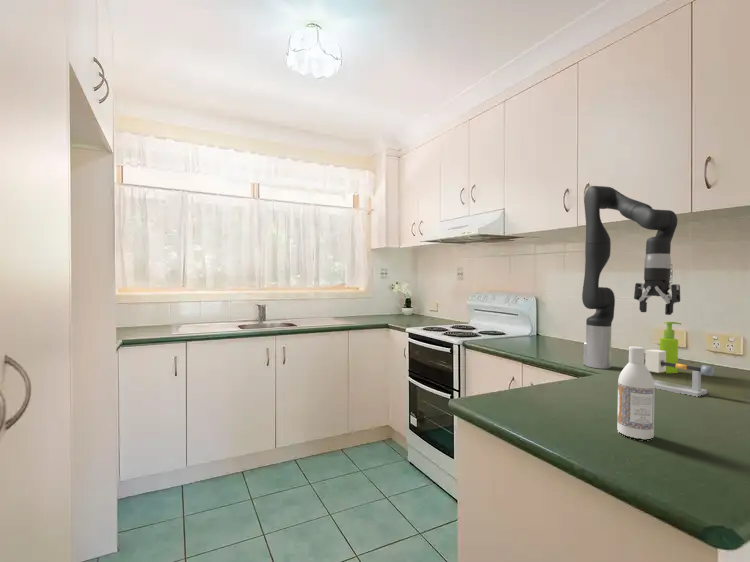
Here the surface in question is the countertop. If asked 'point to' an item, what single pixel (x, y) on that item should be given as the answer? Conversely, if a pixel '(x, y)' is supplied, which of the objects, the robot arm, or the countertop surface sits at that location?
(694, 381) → the rod slider assembly
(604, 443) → the countertop surface
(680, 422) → the countertop surface
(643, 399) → the bath foam
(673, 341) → the soap dispenser
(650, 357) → the sleeve
